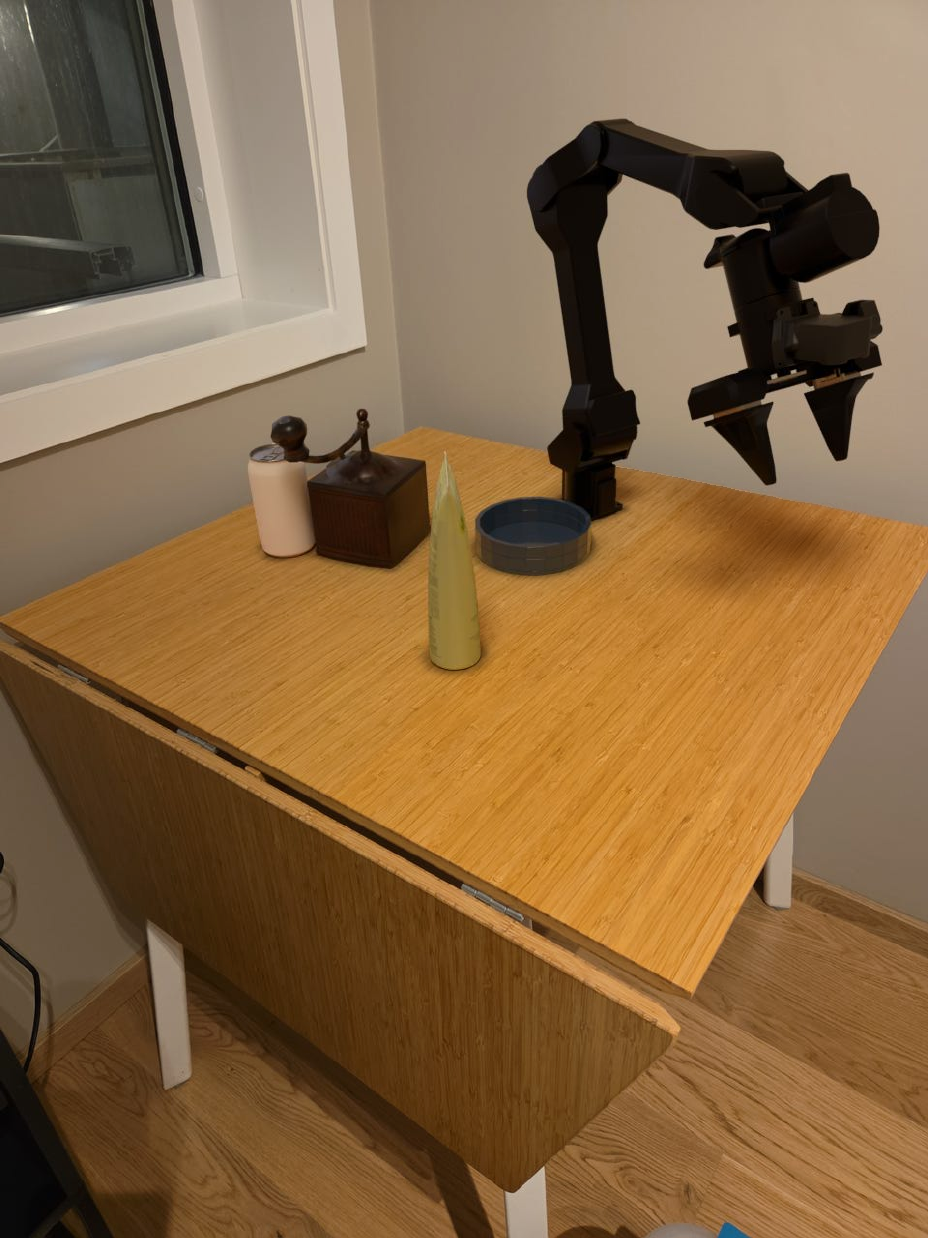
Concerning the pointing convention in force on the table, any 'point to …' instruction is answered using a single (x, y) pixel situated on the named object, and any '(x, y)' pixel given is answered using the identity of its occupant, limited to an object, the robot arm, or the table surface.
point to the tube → (451, 581)
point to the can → (281, 502)
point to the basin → (533, 535)
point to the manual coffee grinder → (361, 497)
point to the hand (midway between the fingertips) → (807, 472)
